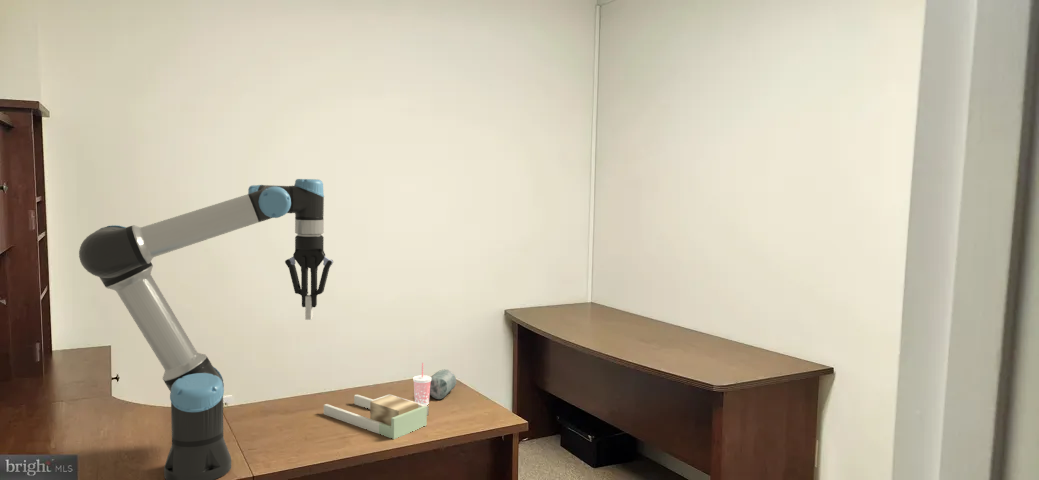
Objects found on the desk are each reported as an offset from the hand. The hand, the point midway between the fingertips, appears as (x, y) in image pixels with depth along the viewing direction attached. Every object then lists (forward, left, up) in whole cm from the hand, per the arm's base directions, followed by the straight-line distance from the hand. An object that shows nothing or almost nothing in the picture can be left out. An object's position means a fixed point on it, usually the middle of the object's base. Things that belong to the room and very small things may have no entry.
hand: (309, 318), depth 188 cm
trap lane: (+19, +16, -34) cm, 42 cm away
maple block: (+23, +8, -35) cm, 42 cm away
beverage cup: (+30, +28, -35) cm, 54 cm away
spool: (+36, +38, -35) cm, 63 cm away
